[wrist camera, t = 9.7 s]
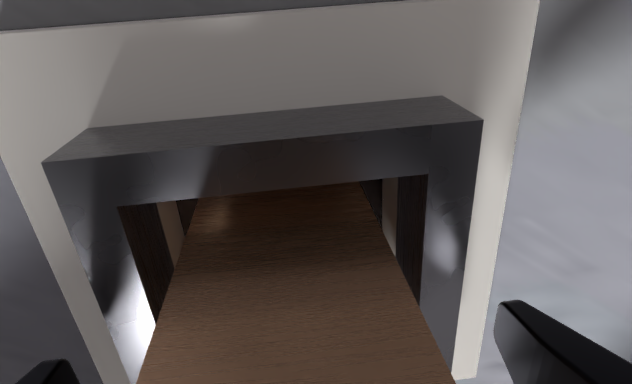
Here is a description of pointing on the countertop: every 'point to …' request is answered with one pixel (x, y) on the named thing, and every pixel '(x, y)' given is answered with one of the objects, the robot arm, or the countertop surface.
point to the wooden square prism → (290, 297)
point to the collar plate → (266, 145)
